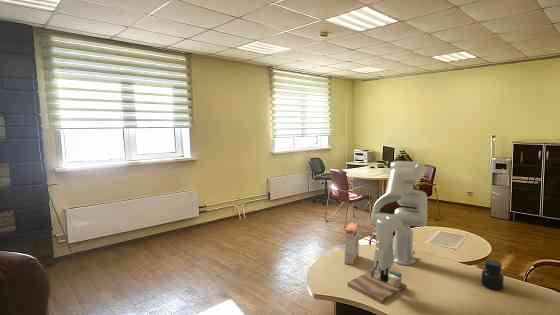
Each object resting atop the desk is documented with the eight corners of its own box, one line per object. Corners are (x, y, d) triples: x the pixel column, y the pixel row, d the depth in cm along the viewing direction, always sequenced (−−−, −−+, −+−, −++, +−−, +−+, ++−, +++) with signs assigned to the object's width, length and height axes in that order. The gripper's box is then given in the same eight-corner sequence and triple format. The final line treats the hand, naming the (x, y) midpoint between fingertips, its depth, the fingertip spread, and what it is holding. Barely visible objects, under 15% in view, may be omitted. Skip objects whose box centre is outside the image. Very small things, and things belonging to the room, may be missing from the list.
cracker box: (354, 265, 178) (354, 230, 175) (344, 264, 180) (344, 229, 178) (359, 256, 190) (359, 222, 188) (349, 254, 193) (349, 221, 190)
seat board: (372, 273, 168) (372, 261, 167) (406, 288, 152) (406, 275, 151) (347, 286, 156) (347, 272, 155) (382, 303, 140) (382, 289, 139)
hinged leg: (369, 275, 161) (369, 268, 160) (373, 273, 163) (373, 266, 162) (397, 287, 149) (397, 280, 148) (401, 285, 151) (401, 277, 150)
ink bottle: (500, 283, 155) (501, 260, 154) (507, 292, 147) (508, 268, 145) (478, 280, 158) (479, 257, 157) (483, 289, 150) (484, 265, 149)
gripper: (386, 237, 154) (386, 272, 157) (367, 246, 145) (368, 283, 148) (400, 242, 148) (400, 278, 151) (381, 251, 139) (381, 289, 142)
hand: (384, 280), depth 149 cm, fingers closed
